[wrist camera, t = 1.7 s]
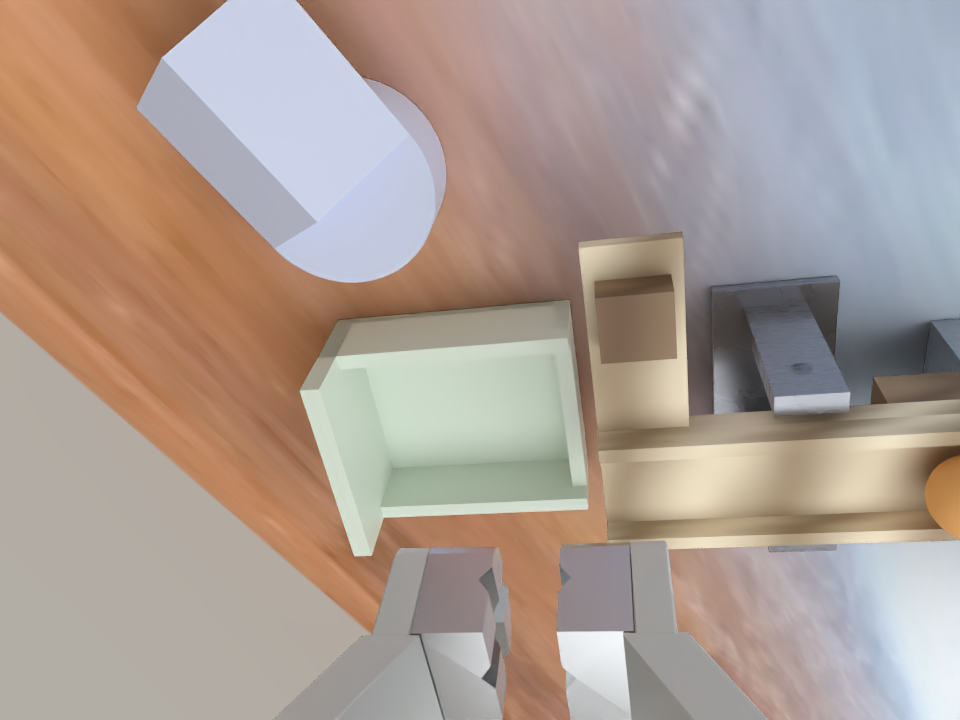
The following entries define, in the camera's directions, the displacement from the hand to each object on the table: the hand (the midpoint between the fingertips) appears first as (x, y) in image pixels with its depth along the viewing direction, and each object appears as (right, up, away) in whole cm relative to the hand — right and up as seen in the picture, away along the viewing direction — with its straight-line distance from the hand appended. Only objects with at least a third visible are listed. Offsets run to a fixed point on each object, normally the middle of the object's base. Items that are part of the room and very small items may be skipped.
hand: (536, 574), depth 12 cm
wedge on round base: (-13, +17, +22) cm, 30 cm away
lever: (+13, +4, +24) cm, 28 cm away
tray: (-2, +1, +34) cm, 34 cm away
